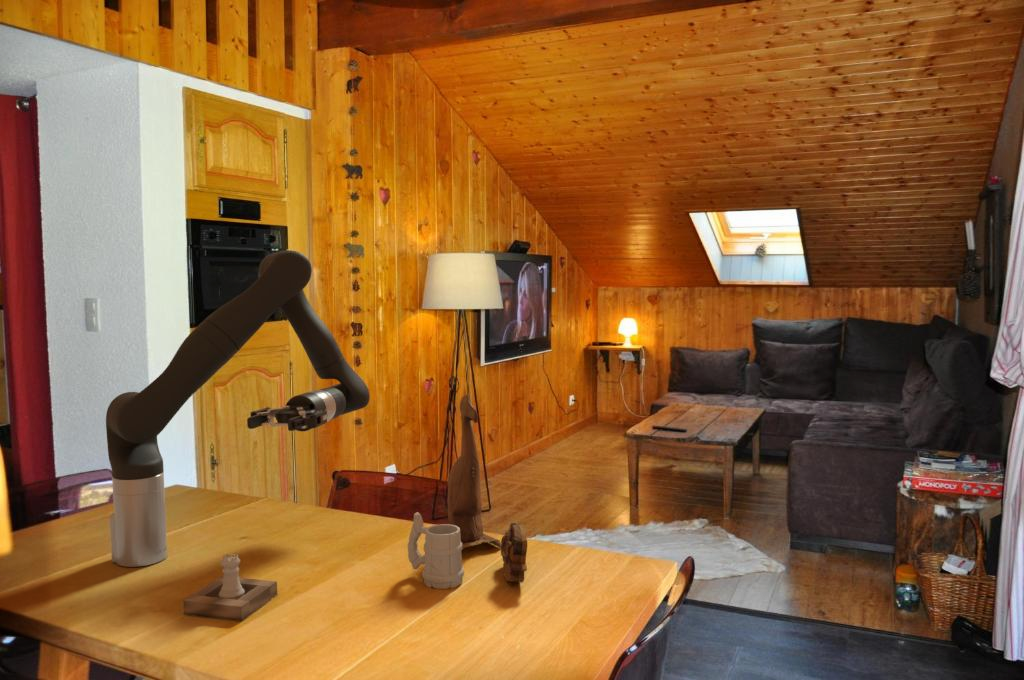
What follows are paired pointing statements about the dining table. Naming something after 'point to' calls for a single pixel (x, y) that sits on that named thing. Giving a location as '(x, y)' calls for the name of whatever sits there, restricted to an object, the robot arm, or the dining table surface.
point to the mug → (437, 553)
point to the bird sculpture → (467, 484)
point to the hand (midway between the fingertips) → (269, 424)
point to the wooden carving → (514, 553)
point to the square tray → (230, 600)
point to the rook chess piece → (231, 578)
